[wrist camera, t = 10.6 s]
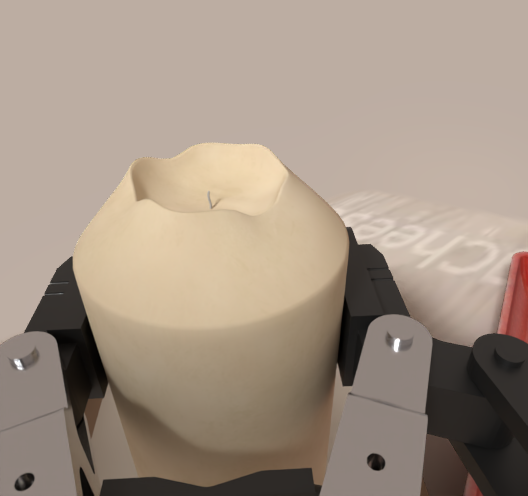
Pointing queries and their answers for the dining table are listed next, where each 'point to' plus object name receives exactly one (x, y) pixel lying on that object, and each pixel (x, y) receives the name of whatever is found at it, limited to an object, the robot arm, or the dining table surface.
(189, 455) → the candle
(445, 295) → the dining table surface
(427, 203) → the dining table surface
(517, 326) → the plant saucer
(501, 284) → the dining table surface
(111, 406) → the stand
